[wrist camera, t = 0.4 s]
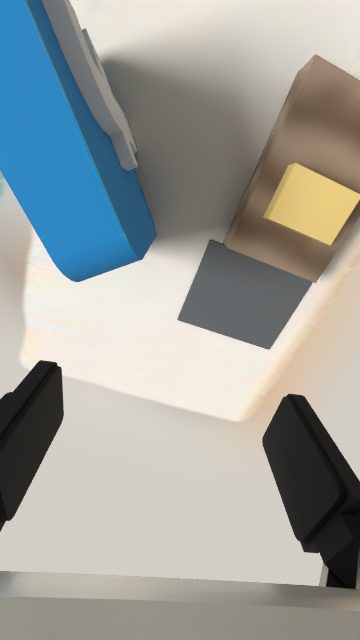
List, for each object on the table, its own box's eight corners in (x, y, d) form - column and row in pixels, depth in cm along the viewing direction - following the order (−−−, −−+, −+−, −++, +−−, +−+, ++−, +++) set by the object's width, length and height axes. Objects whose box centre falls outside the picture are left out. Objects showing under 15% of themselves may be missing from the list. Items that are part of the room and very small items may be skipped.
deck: (297, 73, 27) (315, 54, 24) (393, 127, 30) (423, 117, 26) (223, 243, 36) (228, 248, 32) (302, 275, 38) (315, 282, 34)
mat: (210, 239, 35) (210, 240, 35) (312, 280, 38) (313, 280, 38) (177, 319, 41) (177, 319, 41) (268, 348, 44) (269, 349, 44)
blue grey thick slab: (168, 228, 35) (159, 260, 17) (117, 249, 36) (59, 298, 18) (100, 44, 26) (-64, -292, 8) (36, 79, 27) (-230, -150, 9)
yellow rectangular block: (288, 165, 28) (296, 162, 26) (350, 195, 29) (362, 195, 28) (262, 217, 30) (268, 218, 29) (321, 242, 32) (330, 245, 30)
